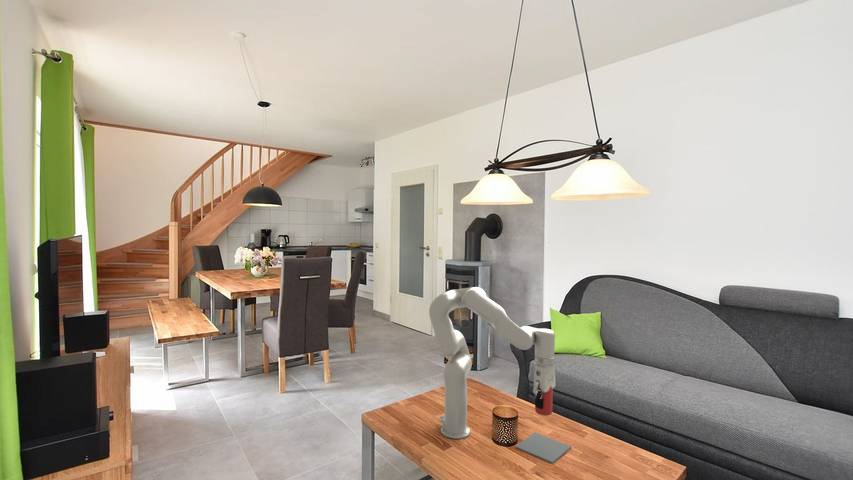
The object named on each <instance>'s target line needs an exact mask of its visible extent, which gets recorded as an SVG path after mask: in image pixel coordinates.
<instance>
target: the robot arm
mask: <svg viewBox="0 0 853 480" xmlns="http://www.w3.org/2000/svg"><path fill="white" fill-rule="evenodd" d="M429 305H430V306H429V308H428V309H429V310H428V314H429V319H430V323H431V326H432V328H433V332H434V336H435V340H436V342H437V345H438V349H439V351H440V353H441V354H442V355H443V356H444V357H449V360H448V361H447V362H446V364H445V366H444V369H443V381H444V415H443V414H441V415H440V416H439V419H438V422H439V423H441V424H442V425H441V427H440V433H441V435H442V436H444V437H447V438H449V439H454V440H455V439H458V440H460V439H464V438H468V437H469V436H470V435H471V429H470V427H469V426H468V425H467V423H468V421H467V419H468V418H467V417H468V410H467V409H468V386H467V385H468V383H467V376H468V373H470V371H471V369H472V365H473V363H472V361H473V360H472V357H471V354H470V352H469V351H470V350H469V348H468V345H467V342H466V338H465V336H464V335H463V333H462V332H460V331H459V330H457V329H455V328H454V325H453V321H452V320H451V318H450V316H449V315H450V313H451V312H452V311H454V310H456V309H461V308H463V309H464V308H467V309H469V310H470V311H472V313H474V314H476V315H477V316H479V317H480V318H481V319H482V320H484V321H485V322H486V323H488V324H489V325H490V326H491V327H492V328H493V329H494V330H495V331H496V332H497V333H498V334H499V335H500V336H501V337H502V338H503V339H504V340H506V341H507V342H508V343H510V344H511V345H513V346H514V347H515V348H517V349H519V350H521V351H522V350H523V351H526V350H529V349H531V348H532V347H533V345H534V365H535V366H534V371H533V372H534V374H533V389H532V393H533V394H534V408H535V407H537V408H540V409H543V399H542V398H543V392H544V393H545V392H547V391H549V388H550V386H552V388H553V389H554V388H555V387H556V378H557V377H556V367H555V346H556V345H555V343H556V341H555V340H556V339H555V338H556V334H555V332H554V330H553V329H549V328H537V327H533V326H529V325H522V326H519V325H518V324H516V323H515V322H514V321H512V320H511V318H510V317H509V316H508V315H507V313H506V311H505V309H504V308H503V307H502V306H501V305H499V304H498V303H496V302H495V301H494V300H492V299H491V298H489V297H488V296H487V293H486V291H484V289H483V288H481V287H479V286H473V287H467V288H466V287H464V288H458V289H450V290H447V291H446V292H442V293H441V294H439V295H438V296H436V297H435V298H434V299H433V300H432V302H431V303H430V304H429ZM539 388H541V390H538V389H539ZM538 391H539V392H541V394H539V393H538Z"/></svg>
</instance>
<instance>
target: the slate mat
mask: <svg viewBox="0 0 853 480" xmlns="http://www.w3.org/2000/svg"><path fill="white" fill-rule="evenodd" d="M514 448H515V449H517V450H520V451H521V452H525V453H526V454H528V455H532V456H534V457H536V458H538V459H541V460H543V461H545V462H548V463H550V464H554V463H556V462H557V461H558V460H559V459H560V458H562V456H563V455H565V454H566V453H567V452H568V451H569V450H571V449H572V446H571V445H569V444H566V443H564V442H562V441H559V440H557V439H553V438H552V437H548V436H546V435H543V434H540V433H538V432H534V433H532V434H530V435H529V436H528V437H526V438H525V439H523V440H522V441H520V442H519V443H517V444H516V445H515V446H514Z"/></svg>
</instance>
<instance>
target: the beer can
mask: <svg viewBox="0 0 853 480" xmlns="http://www.w3.org/2000/svg"><path fill="white" fill-rule="evenodd" d="M538 390H541V388H539V389H538ZM553 392H554V388H552V386H550V388H549V391H547V392H545V393H544V392H543V398H542V399H543V409H540V408H537V407H535V406H534V410H535V413H536V414H538V415H540V416H550V415H552V414H553V399H554V397H553V395H554V393H553ZM538 393H539V394H541V392H539V391H538Z"/></svg>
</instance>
